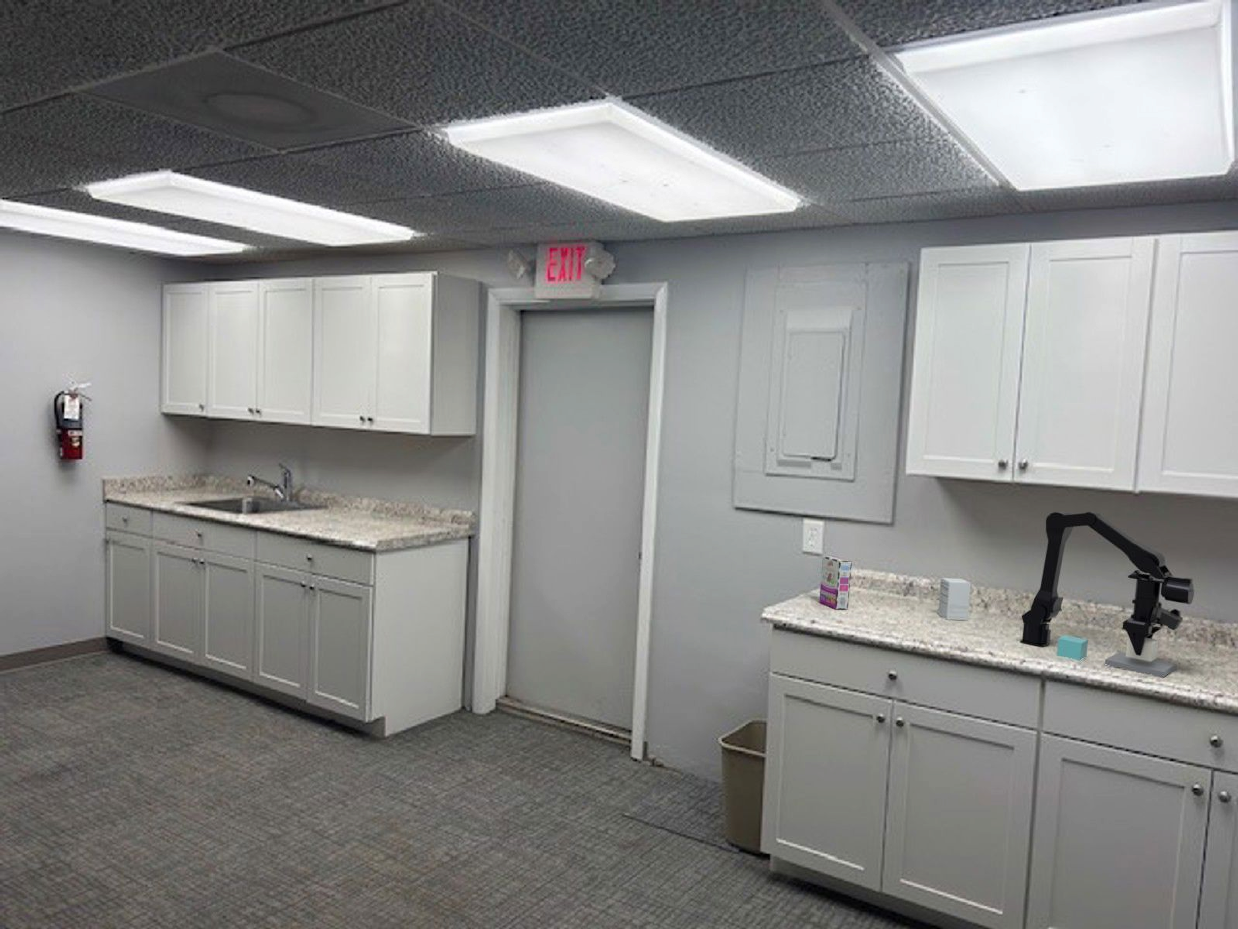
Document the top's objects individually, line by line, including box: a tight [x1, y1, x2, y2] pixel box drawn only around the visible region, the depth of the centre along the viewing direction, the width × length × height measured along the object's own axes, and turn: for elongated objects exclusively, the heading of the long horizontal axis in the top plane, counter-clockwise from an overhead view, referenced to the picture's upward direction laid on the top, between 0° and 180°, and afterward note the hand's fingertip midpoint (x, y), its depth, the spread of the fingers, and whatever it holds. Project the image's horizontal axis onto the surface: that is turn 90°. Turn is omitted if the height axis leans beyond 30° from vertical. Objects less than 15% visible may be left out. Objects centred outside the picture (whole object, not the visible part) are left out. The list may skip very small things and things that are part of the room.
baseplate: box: [1104, 651, 1178, 679], centre depth 241 cm, size 14×14×2 cm
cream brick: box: [1125, 637, 1159, 662], centre depth 241 cm, size 6×6×5 cm
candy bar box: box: [818, 555, 853, 611], centre depth 297 cm, size 11×5×16 cm, turn 17°
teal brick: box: [1056, 635, 1089, 661], centre depth 248 cm, size 6×6×5 cm
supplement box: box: [937, 577, 972, 622], centre depth 290 cm, size 7×7×13 cm
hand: (1141, 653), depth 241 cm, fingers closed on cream brick, 6 cm apart
